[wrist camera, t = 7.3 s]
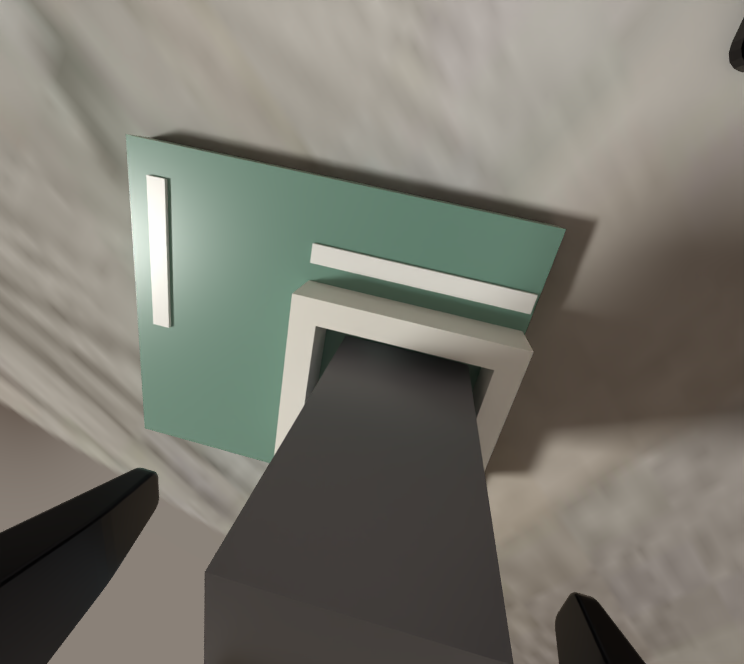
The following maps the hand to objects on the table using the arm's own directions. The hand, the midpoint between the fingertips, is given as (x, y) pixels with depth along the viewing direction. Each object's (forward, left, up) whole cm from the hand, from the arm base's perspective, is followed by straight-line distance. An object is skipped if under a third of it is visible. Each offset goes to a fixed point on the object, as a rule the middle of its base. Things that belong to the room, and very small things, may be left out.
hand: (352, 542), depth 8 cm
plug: (0, 0, -5) cm, 5 cm away
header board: (+3, -1, -7) cm, 7 cm away
